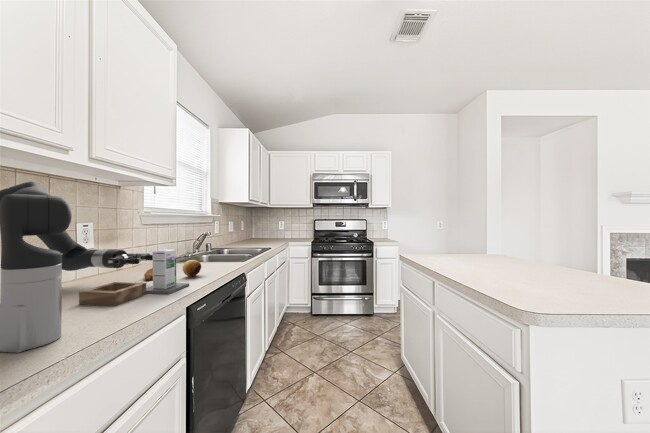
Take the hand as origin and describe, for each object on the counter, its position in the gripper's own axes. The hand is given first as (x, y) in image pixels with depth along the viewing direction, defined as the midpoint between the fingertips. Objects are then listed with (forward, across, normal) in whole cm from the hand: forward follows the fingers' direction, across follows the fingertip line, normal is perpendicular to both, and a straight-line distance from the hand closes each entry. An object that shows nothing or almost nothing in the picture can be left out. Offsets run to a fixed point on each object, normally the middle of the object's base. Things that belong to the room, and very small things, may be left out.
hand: (147, 259), depth 104 cm
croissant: (-12, +18, +12) cm, 24 cm away
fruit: (+5, +22, +12) cm, 25 cm away
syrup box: (+8, -1, +11) cm, 13 cm away
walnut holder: (-1, -13, +12) cm, 18 cm away
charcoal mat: (+8, 0, +12) cm, 14 cm away
